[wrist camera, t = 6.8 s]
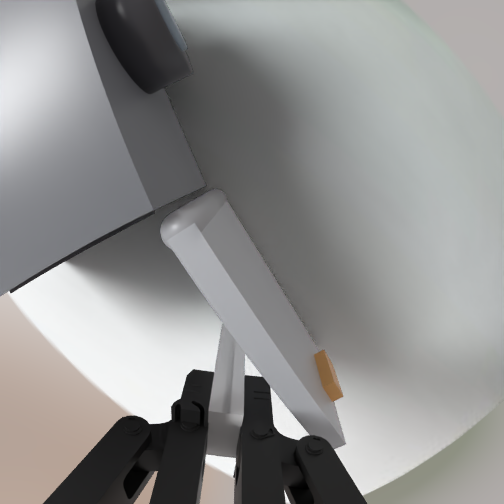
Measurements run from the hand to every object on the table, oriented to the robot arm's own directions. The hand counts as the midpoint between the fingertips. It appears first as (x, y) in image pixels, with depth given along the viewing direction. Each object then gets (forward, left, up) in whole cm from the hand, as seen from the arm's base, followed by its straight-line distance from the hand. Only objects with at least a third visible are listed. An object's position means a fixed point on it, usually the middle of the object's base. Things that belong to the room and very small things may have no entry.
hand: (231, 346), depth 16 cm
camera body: (-14, -2, -3) cm, 14 cm away
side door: (-2, +3, -2) cm, 4 cm away
